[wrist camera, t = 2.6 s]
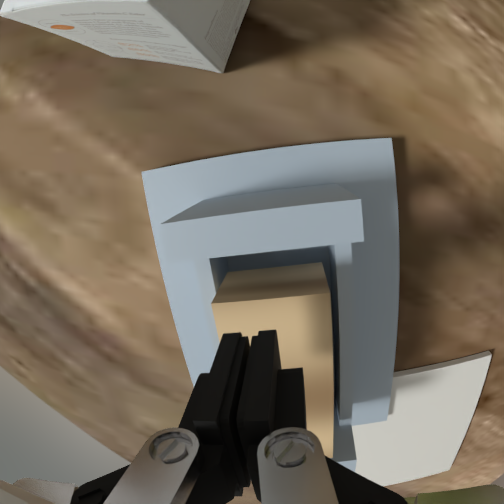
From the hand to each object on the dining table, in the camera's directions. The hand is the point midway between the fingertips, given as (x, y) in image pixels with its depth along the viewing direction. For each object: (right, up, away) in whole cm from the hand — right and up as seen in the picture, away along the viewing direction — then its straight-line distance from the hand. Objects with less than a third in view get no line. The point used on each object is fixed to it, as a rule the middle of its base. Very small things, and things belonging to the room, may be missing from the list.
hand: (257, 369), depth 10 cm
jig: (+2, 0, +10) cm, 10 cm away
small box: (-5, +18, +6) cm, 19 cm away
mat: (+14, -12, +13) cm, 22 cm away
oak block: (+2, -2, +7) cm, 7 cm away
